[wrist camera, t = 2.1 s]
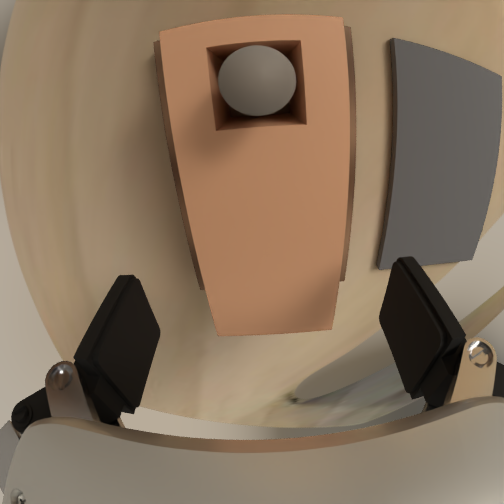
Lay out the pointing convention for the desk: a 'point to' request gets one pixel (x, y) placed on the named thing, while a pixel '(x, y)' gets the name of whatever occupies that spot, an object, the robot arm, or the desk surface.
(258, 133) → the link
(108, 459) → the robot arm
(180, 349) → the desk surface
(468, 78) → the mat
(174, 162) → the peg stand
